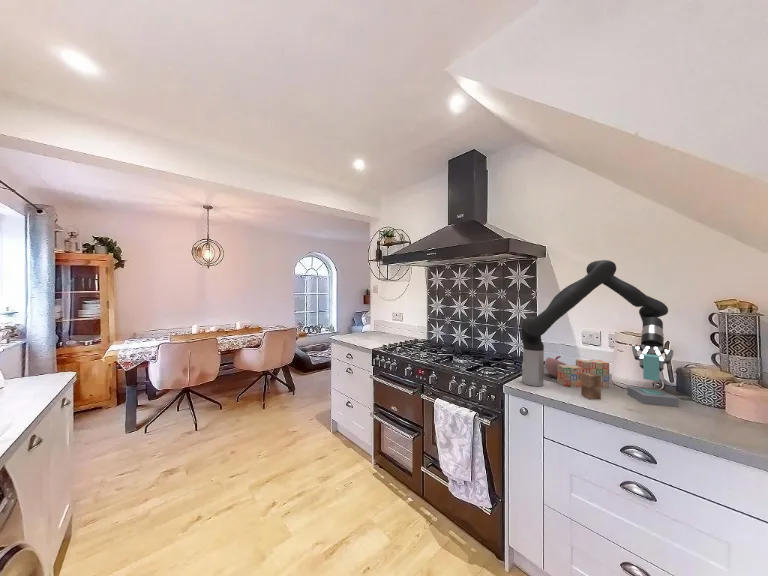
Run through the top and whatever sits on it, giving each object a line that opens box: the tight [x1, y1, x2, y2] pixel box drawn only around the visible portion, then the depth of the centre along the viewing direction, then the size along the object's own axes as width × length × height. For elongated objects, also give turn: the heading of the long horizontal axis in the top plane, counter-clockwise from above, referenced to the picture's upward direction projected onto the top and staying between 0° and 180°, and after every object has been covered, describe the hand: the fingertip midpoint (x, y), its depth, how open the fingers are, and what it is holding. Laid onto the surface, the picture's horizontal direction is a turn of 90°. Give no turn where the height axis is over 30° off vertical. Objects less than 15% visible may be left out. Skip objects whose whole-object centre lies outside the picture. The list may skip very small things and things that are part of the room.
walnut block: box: [580, 373, 602, 400], centre depth 130 cm, size 5×5×10 cm
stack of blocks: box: [556, 358, 610, 389], centre depth 147 cm, size 21×6×12 cm, turn 86°
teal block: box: [642, 354, 660, 382], centre depth 127 cm, size 5×5×10 cm
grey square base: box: [626, 385, 679, 408], centre depth 127 cm, size 12×12×4 cm
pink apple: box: [544, 355, 568, 378], centre depth 161 cm, size 12×12×12 cm
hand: (651, 368), depth 126 cm, fingers closed on teal block, 5 cm apart
